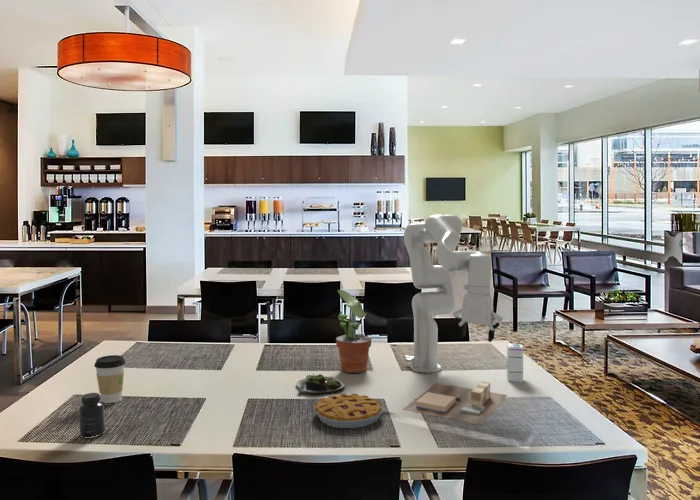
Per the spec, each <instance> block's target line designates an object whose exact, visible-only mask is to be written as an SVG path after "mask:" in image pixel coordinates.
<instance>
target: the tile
mask: <svg viewBox="0 0 700 500" xmlns="http://www.w3.org/2000/svg"><path fill="white" fill-rule="evenodd" d="M455 403H456V397H452V396H447V395H441V394H435V393H430V392H427V393H426V394H425V395H423V396H422V397H421V398H419V399H418V400H417V401H416V407H418V408H423V409H428V410H433V411H438V412H443V413H446V412H447V411H448V410H449V409H450V408H451V407H452V406H453V405H454V404H455Z"/></svg>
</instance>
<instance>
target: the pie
mask: <svg viewBox="0 0 700 500" xmlns="http://www.w3.org/2000/svg"><path fill="white" fill-rule="evenodd" d="M383 408H384V407H383V405H382V404H381V402H380V401H378V400H377V399H376V398H373V397H372V398H370V397H369V396H368V395H365V394H364V395H360V394H358V393H352V394H346V393H339V395H329V396H328V397H326V398H325V397H322V398H320V399H319V401H316V402H315V404H314V407H313V411H314V412H315V413H316V416H317V417H318V418H320V419H319V420H320V422H321V421H322V422H324V423H326V424H327V425H326V424H325V425H326V426H328V425H330V426H334V427H338V428H354V427H362V426H365V427H367V426H366V425H368V426H370V425H369V424H371V425H373V424H374V422H375V421H376V422H377V420H378V421H379V419H380V416H381V415H382V414H383V410H384V409H383ZM322 422H321V423H322ZM376 422H375V423H376ZM324 423H323V424H324ZM372 423H373V424H372ZM330 426H329V427H330ZM334 427H333V428H334ZM362 428H363V427H362ZM354 429H355V428H354Z"/></svg>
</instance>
